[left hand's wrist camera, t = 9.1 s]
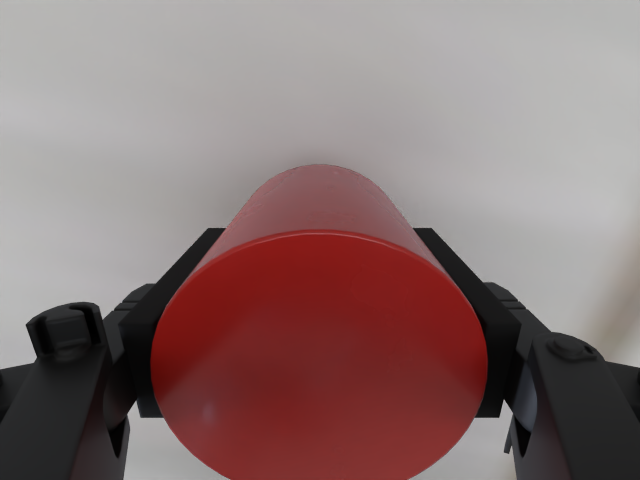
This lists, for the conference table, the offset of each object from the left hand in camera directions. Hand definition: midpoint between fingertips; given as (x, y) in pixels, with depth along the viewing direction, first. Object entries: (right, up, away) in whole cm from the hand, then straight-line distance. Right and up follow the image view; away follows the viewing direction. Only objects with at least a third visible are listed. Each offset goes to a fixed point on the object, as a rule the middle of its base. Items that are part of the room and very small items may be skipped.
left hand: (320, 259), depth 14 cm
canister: (0, 0, +1) cm, 1 cm away
